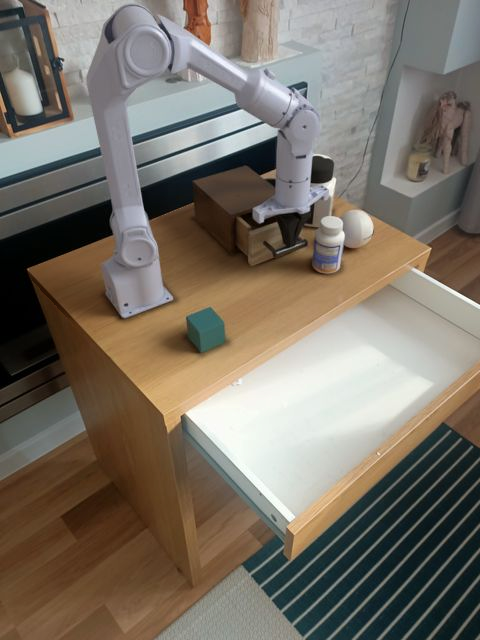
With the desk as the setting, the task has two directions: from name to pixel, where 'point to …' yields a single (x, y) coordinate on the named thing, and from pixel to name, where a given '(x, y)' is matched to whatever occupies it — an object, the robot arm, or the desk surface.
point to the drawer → (261, 239)
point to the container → (323, 176)
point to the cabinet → (228, 201)
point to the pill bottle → (328, 245)
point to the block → (205, 329)
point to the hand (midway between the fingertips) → (289, 244)
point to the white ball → (356, 228)
